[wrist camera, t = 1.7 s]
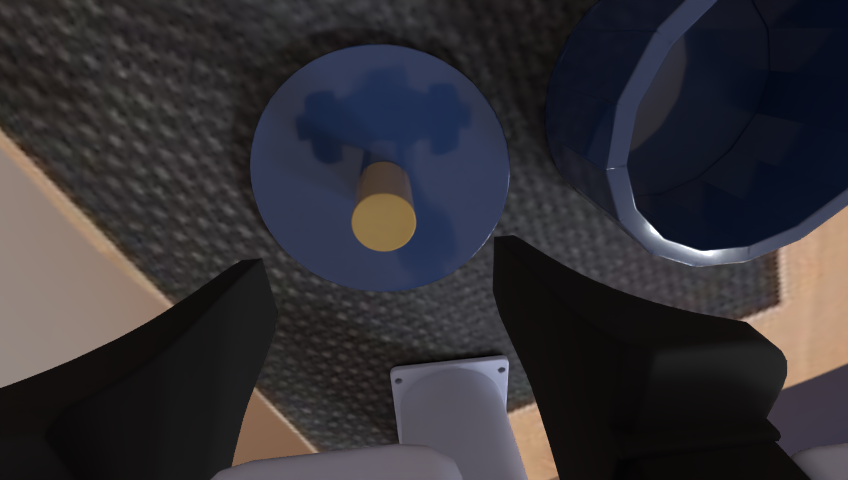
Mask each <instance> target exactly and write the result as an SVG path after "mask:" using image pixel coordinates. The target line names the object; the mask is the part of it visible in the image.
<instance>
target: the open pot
mask: <svg viewBox="0 0 848 480" xmlns="http://www.w3.org/2000/svg"><path fill="white" fill-rule="evenodd" d="M544 123H545V132H546V139H547V143H548V147H549V151H550V153H551V156H552V158H553V161H554V163H555V165H556V166H557V168H558V170H559V172H560V174H561V175H562V176H563V177H564V178H565V179H566V180H567V182H568V183H569V184H570V185H572V186H573V187H574V188H575V189H576V190H577V191H578V192H579V193H580V194H581V195H582V196H583V197H584V198H585V199H586V200H587V201H588V202H589V203H591V204H592V205H593V206H594V207H595V208H597V209H598V210H599V211H600V212H601V213H603V214H604V215H605V216H606V217H607V218H608V219H610V220H611V221H612V222H613V223H614V224H616V225H617V226H618V227H619V228H620V229H621V230H623V231H624V232H625V233H626V234H627V235H629V236H630V237H631V238H632V239H633V240H634V241H636V242H637V243H638V244H639V245H640V246H642V247H643V248H644V249H645V250H646V251H647V252H649V253H651V254H654V255H657V256H660V257H664V258H667V259H670V260H674V261H677V262H680V263H683V264H687V265H690V266H694V267H699V266H709V265H719V264H730V263H740V262H746V261H749V260H752V259H754V258H757V257H759V256H762V255H764V254H766V253H769V252H771V251H774V250H776V249H779V248H781V247H783V246H786V245H788V244H791V243H793V242H796V241H798V240H800V239H801V238H804V237H805V236H806V235H808V234H809V233H810V232H812V231H813V230H815V229H816V228H817V227H819V226H820V225H821V224H823V223H824V222H826V221H827V220H828V219H830V218H831V217H833V216H834V215H835V214H837V213H838V212H839V211H841V210H842V209H844V208H845V207H846V206H848V0H598V1H597V2H596V3H595V4H594V5H593V6H592V7H591V8H590V9H589V10H588V12H587V13H586V14H585V15H584V17H583V18H582V19H581V20H580V21H579V23H578V24H577V25H576V27H575V28H574V30H573V31H572V33H571V35H570V36H569V38H568V39H567V41H566V43H565V45H564V47H563V49H562V50H561V52H560V54H559V56H558V59H557V61H556V64H555V66H554V69H553V72H552V74H551V78H550V82H549V86H548V89H547V95H546V102H545V121H544Z"/></svg>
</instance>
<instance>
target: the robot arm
mask: <svg viewBox="0 0 848 480" xmlns="http://www.w3.org/2000/svg"><path fill="white" fill-rule="evenodd" d="M493 293H494V297H495V300H496V304H497V307H498V311H499V314H500V317H501V319H502V322H503V324H504V326H505V328H506V331H507V333H508V335H509V337H510V339H511V342H512V344H513V346H514V348H515V350H516V353H517V355H518V357H519V359H520V361H521V364H522V366H523V368H524V370H525V372H526V375H527V377H528V380H529V382H530V385H531V387H532V391H533V394H534V397H535V400H536V403H537V406H538V409H539V412H540V415H541V418H542V421H543V425H544V428H545V431H546V434H547V438H548V441H549V444H550V447H551V451H552V454H553V458H554V461H555V465H556V468H557V472H558V475H559V478H560V480H848V443H846V444H838V445H830V446H822V447H814V448H808V449H804V450H800V451H799V452H797V453H795V454H793V455H792V456H791V457H789V456H788V455H787V454H786V453H785V452H784V450H783V449H781V447H780V446H779V445H778V444H777V443H776V442H775V441H779V439H780V438H781V435H780V432H779V431H778V430H777V429H776V428H775V427H774V426H773V425H772V424H771V423H770V422H769V421H768V420H767V419H766V418H767V416H768V414H769V412H770V410H771V408H772V406H773V404H774V402H775V401H776V399H777V397H778V395H779V393H780V391H781V389H782V388H783V385H784V382H785V379H786V376H787V360H786V358H785V356H784V354H783V353H782V351H781V350H780V349H779V348H777V347H776V346H775V345H774V344H773V343H771V342H770V341H769V340H768V339H766V338H765V337H764V336H763V335H762V334H760V333H759V332H758V331H757V330H756V329H754V328H753V327H752V326H751V325H749V324H748V323H747V322H743V321H738V320H732V319H727V318H721V317H716V316H710V315H705V314H699V313H695V312H690V311H686V310H682V309H678V308H674V307H670V306H666V305H662V304H659V303H655V302H652V301H648V300H645V299H642V298H639V297H636V296H633V295H630V294H627V293H624V292H622V291H619V290H616V289H614V288H611V287H609V286H606V285H604V284H602V283H599V282H597V281H594V280H592V279H590V278H588V277H586V276H584V275H582V274H580V273H578V272H576V271H574V270H572V269H570V268H568V267H566V266H565V265H563V264H561V263H559V262H557V261H556V260H554V259H552V258H551V257H549V256H547V255H546V254H544V253H542V252H541V251H539V250H538V249H536V248H534V247H533V246H531V245H530V244H528V243H526V242H525V241H523V240H521V239H520V238H518V237H516V236H514V235H511V236H500V237H494V266H493ZM277 313H278V311H277V308H276V304H275V301H274V297H273V294H272V291H271V287H270V284H269V280H268V277H267V273H266V270H265V267H264V263H263V260H262V259H251V260H242V261H240V262H238V263H236V264H234V265H233V266H231V267H230V268H228V269H227V270H225V271H224V272H222V273H221V274H220V275H218V276H217V277H215V278H214V279H213V280H211V281H210V282H208V283H207V284H205V285H204V286H203V287H201V288H200V289H198V290H197V291H195V292H194V293H193V294H191V295H190V296H188V297H187V298H185V299H184V300H182V301H180V302H179V303H177V304H176V305H174V306H173V307H171V308H170V309H168V310H167V311H165V312H164V313H162V314H161V315H159V316H157V317H156V318H154V319H152V320H150V321H149V322H147V323H145V324H144V325H142V326H140V327H138V328H137V329H134V330H133V331H131V332H129V333H127V334H125V335H124V336H122V337H120V338H118V339H116V340H114V341H112V342H109V343H107V344H105V345H103V346H101V347H99V348H97V349H95V350H93V351H91V352H88V353H86V354H84V355H82V356H80V357H78V358H76V359H73V360H71V361H69V362H66V363H64V364H61V365H59V366H57V367H54V368H52V369H50V370H47V371H45V372H42V373H39V374H37V375H34V376H32V377H29V378H27V379H24V380H21V381H19V382H16V383H13V384H11V385H8V386H5V387H2V388H0V480H528V478H527V475H526V472H525V468H524V465H523V462H522V459H521V456H520V453H519V449H518V446H517V443H516V440H515V437H514V434H513V431H512V427H511V424H510V421H509V418H508V415H507V412H506V401H507V384H508V367H509V362H508V359H507V357H506V356H503V355H499V356H490V357H481V358H471V359H462V360H453V361H443V362H434V363H425V364H415V365H406V366H397V367H394V368H392V369H391V371H390V377H391V384H392V392H393V399H394V407H395V414H396V421H397V429H398V436H399V443H400V444H389V445H381V446H372V447H364V448H355V449H347V450H338V451H330V452H321V453H313V454H304V455H296V456H287V457H279V458H270V459H261V460H253V461H250V462H246V463H244V464H240V465H236V466H233V467H231V466H232V462H233V457H234V453H235V449H236V445H237V441H238V437H239V433H240V429H241V425H242V421H243V418H244V415H245V412H246V408H247V405H248V402H249V400H250V397H251V395H252V392H253V389H254V387H255V384H256V381H257V379H258V376H259V374H260V371H261V368H262V366H263V363H264V360H265V358H266V355H267V352H268V349H269V347H270V344H271V341H272V337H273V333H274V328H275V323H276V318H277ZM500 367H502V368H500ZM398 378H400V379H398Z"/></svg>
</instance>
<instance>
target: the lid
mask: <svg viewBox="0 0 848 480" xmlns="http://www.w3.org/2000/svg"><path fill="white" fill-rule="evenodd" d="M250 176H251V184H252V189H253V194H254V198H255V201H256V204H257V207H258V210H259V212H260V215H261V217H262V218H263V220H264V222H265V224H266V226H267V228H268V230H269V231H270V232H271V234H272V235H273V237H274V238H275V240H276V241H277V242H278V243H279V245H280V246H281V247H282V248H283V249H284V250H285V251H286V252H287V253H288V254H289V255H290V256H291V257H292V258H293V259H294V260H296V261H297V262H298V263H299V264H301V265H302V266H303V267H305V268H306V269H308V270H309V271H311V272H312V273H314V274H316V275H318V276H320V277H322V278H323V279H326V280H328V281H331V282H333V283H335V284H338V285H342V286H345V287H349V288H352V289H358V290H364V291H375V292H391V291H401V290H407V289H412V288H416V287H420V286H424V285H426V284H429V283H431V282H434V281H437V280H439V279H441V278H443V277H445V276H446V275H448V274H450V273H452V272H453V271H455V270H456V269H458V268H459V267H461V266H462V265H463V264H465V263H466V262H467V261H468V260H469V259H470V258H472V257H473V256H474V255H475V254H476V253H477V251H478V250H479V249H480V248H481V247H482V246H483V245H484V243H485V242H486V241H487V239H488V238H489V236H490V235H491V234H492V232H493V230H494V228H495V226H496V225H497V223H498V221H499V219H500V216H501V214H502V211H503V208H504V206H505V202H506V198H507V194H508V188H509V180H510V159H509V153H508V146H507V142H506V138H505V135H504V132H503V129H502V126H501V124H500V122H499V120H498V117H497V115H496V113H495V111H494V110H493V108H492V107H491V105H490V103H489V102H488V100H487V99H486V97H485V96H484V95H483V94H482V93H481V91H480V90H479V89H478V88H477V87H476V86H475V84H474V83H473V82H471V81H470V80H469V79H468V78H467V77H466V76H465V75H463V74H462V73H461V72H460V71H459V70H457V69H456V68H454V67H452V66H451V65H449V64H448V63H446V62H445V61H443V60H441V59H439V58H437V57H435V56H432V55H430V54H428V53H426V52H423V51H420V50H416V49H413V48H410V47H406V46H399V45H393V44H363V45H355V46H349V47H346V48H342V49H339V50H335V51H332V52H329V53H327V54H325V55H323V56H321V57H319V58H317V59H314V60H312V61H311V62H309V63H308V64H306V65H305V66H303V67H302V68H300V69H299V70H297V71H296V72H295V73H294V74H293V75H291V76H290V77H289V78H288V79H287V80H286V81H285V82H284V83H283V84H282V85H281V86H280V87H279V89H278V90H277V91H276V92H275V93H274V95H273V96H272V97H271V99H270V100H269V102H268V104H267V105H266V107H265V109H264V111H263V112H262V114H261V117H260V119H259V122H258V124H257V127H256V129H255V133H254V137H253V141H252V146H251V155H250Z"/></svg>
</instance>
